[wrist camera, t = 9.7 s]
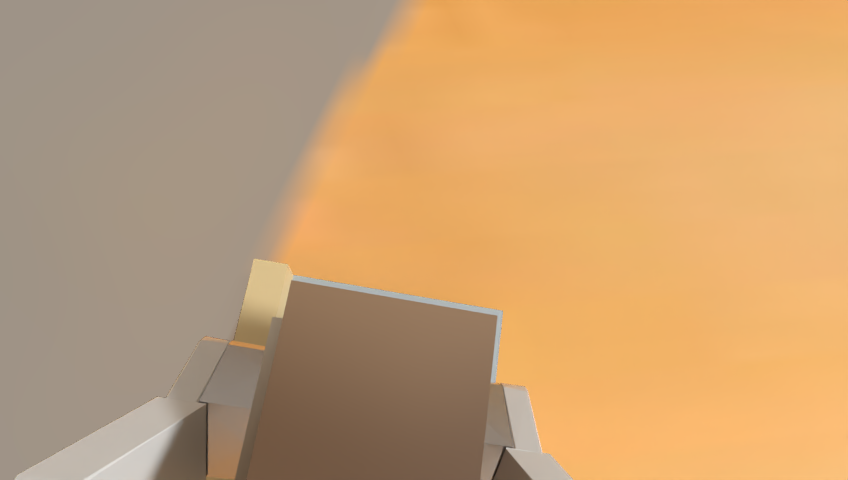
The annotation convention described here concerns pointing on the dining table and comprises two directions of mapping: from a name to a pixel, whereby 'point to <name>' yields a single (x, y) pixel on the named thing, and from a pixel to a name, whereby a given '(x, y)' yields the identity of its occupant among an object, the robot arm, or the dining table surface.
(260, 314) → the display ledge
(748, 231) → the dining table surface
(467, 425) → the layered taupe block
